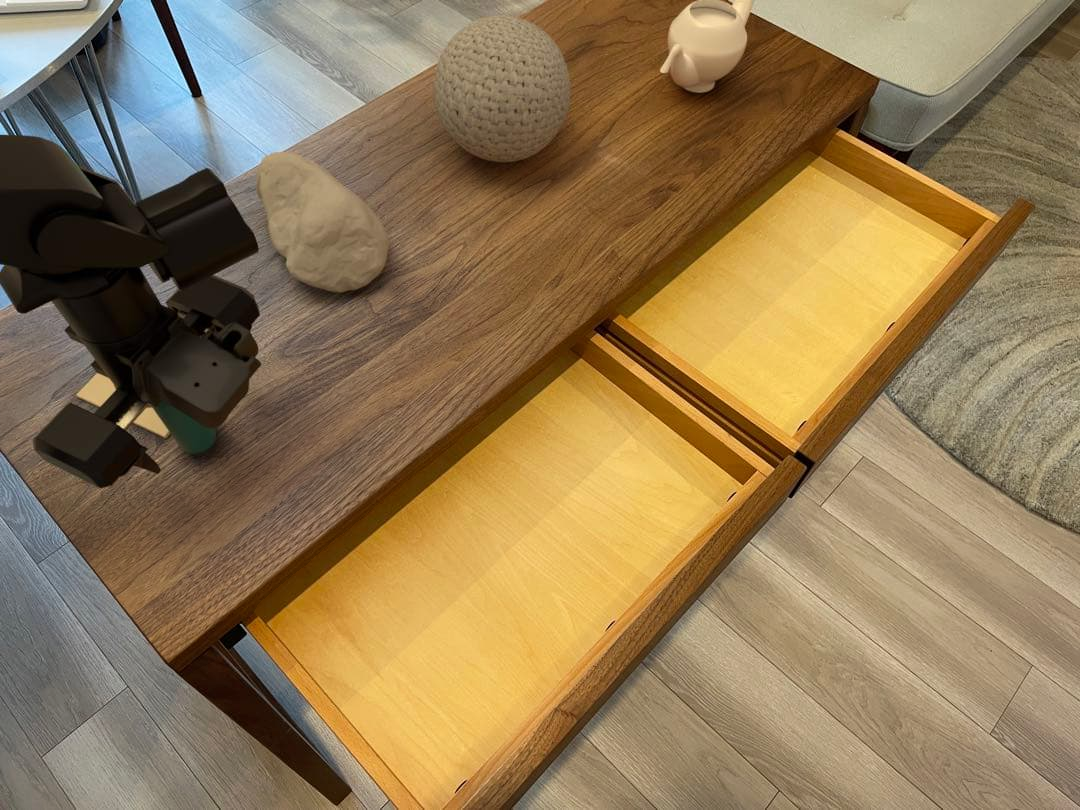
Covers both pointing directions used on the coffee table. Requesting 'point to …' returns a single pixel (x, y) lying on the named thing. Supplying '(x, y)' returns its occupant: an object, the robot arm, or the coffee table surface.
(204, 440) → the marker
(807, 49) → the coffee table surface
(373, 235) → the decorative stone
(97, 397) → the sketch card
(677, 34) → the teapot
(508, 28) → the decorative ball
